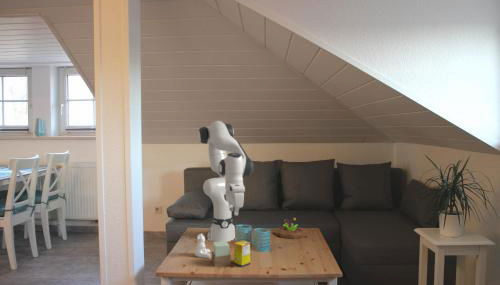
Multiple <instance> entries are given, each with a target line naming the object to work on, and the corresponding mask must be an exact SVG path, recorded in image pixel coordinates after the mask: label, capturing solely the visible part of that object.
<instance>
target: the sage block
mask: <svg viewBox="0 0 500 285" xmlns="http://www.w3.org/2000/svg"><path fill="white" fill-rule="evenodd" d="M230 249H231V248H230V244H229V243H228V242H227V241H222V242H215V241H212V252H213V253H214V254H215V256H216V257H217V256H227V255H229V254H230V251H231V250H230Z"/></svg>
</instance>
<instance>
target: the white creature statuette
mask: <svg viewBox="0 0 500 285" xmlns="http://www.w3.org/2000/svg"><path fill="white" fill-rule="evenodd" d="M196 240H197V245H196V247H195V249H194V251H193V254H194V255H195V256H196V257H197V258H201V259H210V258H211V250H210V249H209V248H206V242H205V241H206V237H205V235H204V234H203V233H198V235H197V236H196Z"/></svg>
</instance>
